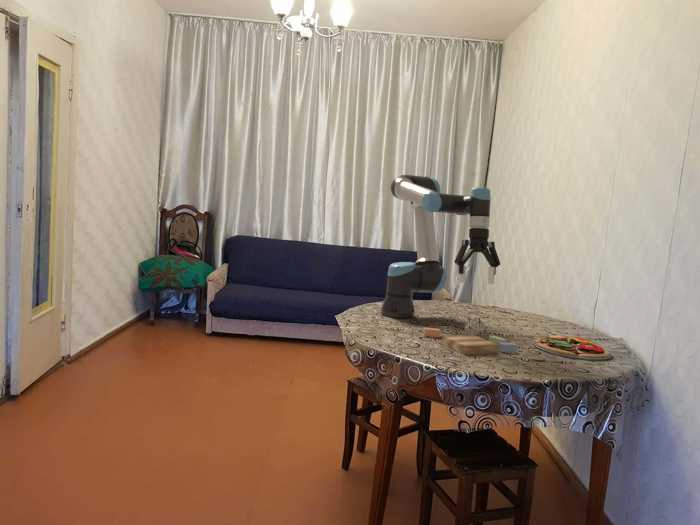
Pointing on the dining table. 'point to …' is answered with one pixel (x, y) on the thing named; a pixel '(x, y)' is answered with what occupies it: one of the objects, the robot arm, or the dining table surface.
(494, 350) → the oak block
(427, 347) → the dining table surface
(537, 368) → the dining table surface
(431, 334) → the terracotta brick
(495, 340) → the sage brick
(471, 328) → the game die
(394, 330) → the dining table surface
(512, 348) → the slate blue brick
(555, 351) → the toy pizza
